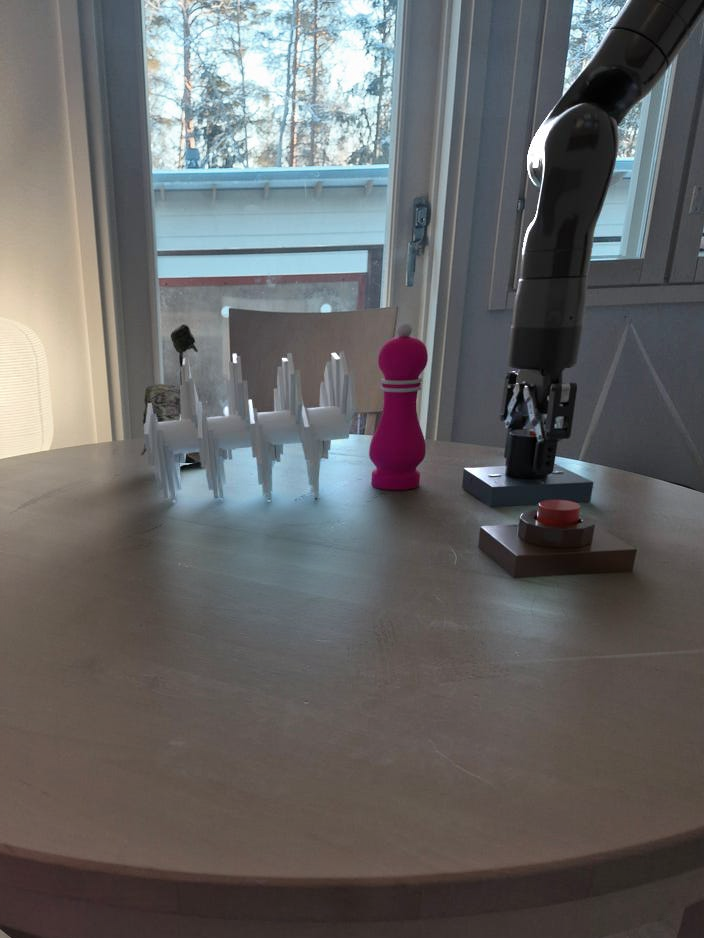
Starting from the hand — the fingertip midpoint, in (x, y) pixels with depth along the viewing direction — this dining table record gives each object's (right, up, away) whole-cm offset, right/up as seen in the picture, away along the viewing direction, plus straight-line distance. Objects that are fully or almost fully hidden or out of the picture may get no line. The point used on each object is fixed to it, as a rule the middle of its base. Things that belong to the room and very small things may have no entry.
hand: (526, 466), depth 91 cm
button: (-6, -10, -21) cm, 24 cm away
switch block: (-6, -13, -19) cm, 24 cm away
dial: (0, -1, 0) cm, 1 cm away
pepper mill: (-14, -1, +8) cm, 17 cm away
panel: (0, -3, +2) cm, 4 cm away
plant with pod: (-44, +6, +25) cm, 51 cm away
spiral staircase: (-34, -3, +5) cm, 35 cm away
